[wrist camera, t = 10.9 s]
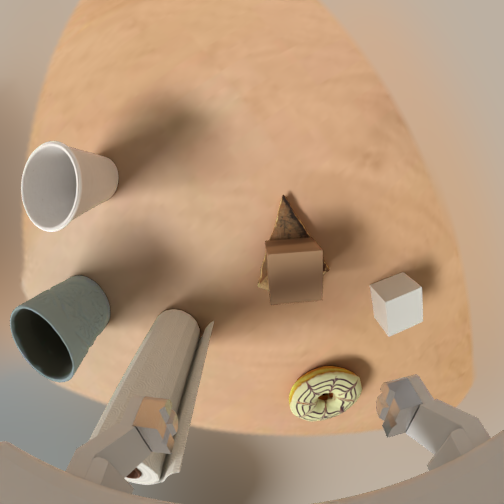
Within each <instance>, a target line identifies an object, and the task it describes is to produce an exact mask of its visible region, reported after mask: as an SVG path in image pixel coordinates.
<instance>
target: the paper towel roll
mask: <svg viewBox="0 0 504 504" xmlns="http://www.w3.org/2000/svg"><path fill="white" fill-rule="evenodd" d="M213 325H214V321H212V322H211V323H210V324H209V325H208V326H207V327H206V328H205V331H204V333H203V335H202V337H201V338H200V329H199V326H198V324H197V321H196V320H195V319H194V318H193V317H192V316H191V315H190V314H188V313H186V312H184V311H182V310H176V309H171V310H166V311H164V312H163V313H161V314H160V315H158V317H157V319H156V320H155V322H154V324H153V325H152V327H151V329H150V330H149V332H148V334H147V335H146V337H145V339H144V340H143V342H142V344H141V346H140V347H139V349H138V351H137V352H136V354H135V356H134V358H133V359H132V361H131V363H130V365H129V366H128V368H127V370H126V372H125V374H124V375H123V377H122V379H121V381H120V383H119V384H118V386H117V388H116V390H115V392H114V394H113V395H112V397H111V399H110V401H109V403H108V405H107V407H106V408H105V411H104V412H103V414H102V416H101V418H100V420H99V422H98V424H97V426H96V428H95V430H94V432H93V434H92V436H91V438H90V439H89V441H90V440H91V439H93V438H95V437H96V436H98V435H99V434H101V433H102V432H104V431H106V430H107V429H109V428H110V427H112V426H113V425H115V424H116V423H118V424H120V422H121V420H122V417H123V415H124V413H125V411H126V408H127V406H128V404H129V402H130V400H131V398H132V397H133V396H134V395H138V396H147V397H154V398H163V399H170V400H171V402H172V404H173V406H172V410H174V411H175V412H176V414H177V417H178V429H177V433H176V434H175V435H174V436H172V437H173V439H174V441H175V442H174V446H173V450H172V454H165V453H157V452H152V453H151V454H150V455H149V456H148V457H147V458H146V459H145V460H144V461H143V462H142V463H141V464H139V465H138V466H137V467H136V468H135V469H134V470H133V471H132V472H131V473H130V474H129V475H128V476H126V477H125V478H124V479H125V480H127V481H130V482H133V483H138V484H144V485H149V484H155V483H160V482H164V480H165V479H166V477H167V476H169V475H171V474H173V473H178V472H180V469H181V464H182V460H183V455H184V450H185V445H186V441H187V436H188V432H189V427H190V423H191V418H192V414H193V409H194V405H195V401H196V396H197V392H198V388H199V383H200V379H201V375H202V370H203V366H204V362H205V358H206V354H207V349H208V345H209V341H210V337H211V333H212V329H213ZM199 338H200V339H199Z"/></svg>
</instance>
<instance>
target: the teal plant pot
mask: <svg viewBox="0 0 504 504" xmlns="http://www.w3.org/2000/svg"><path fill="white" fill-rule="evenodd" d="M109 318H110V305H109V302H108V299H107V297H106V295H105V293H104V292H103V290H102V289H101V288H100V286H99V285H98V284H97V283H96V282H94V281H93V280H91V279H90V278H88V277H85V276H79V275H78V276H73V277H71V278H69V279H67V280H65V281H63V282H61V283H59V284H57V285H55V286H53V287H52V288H51V289H50V290H46V291H44V292H42V293H41V294H39V295H37V296H35V297H34V298H32V299H30V300H28V301H27V302H25V303H23V304H21V305H19V306H18V307H16V308H15V310H13V312H12V314H11V318H10V327H11V332H12V336H13V339H14V341H15V343H16V345H17V348H18V349H19V351H20V353H21V354H22V356H23V357H24V358H25V360H26V361H27V362H28V363H29V364H30V365H31V366H32V367H33V368H34V369H35V370H36V371H37V372H39V373H40V374H41V375H42V376H44V377H46V378H48V379H50V380H52V381H56V382H66V381H68V380H70V379H71V378H72V377H73V375H74V374H75V372H76V370H77V369H78V367H79V365H80V364H81V362H82V360H83V358H84V357H85V355H86V354H87V352H88V349H89V347H91V346H92V345H93V343H94V341H95V339H96V337H97V336H98V335H99V334H100V333H101V332H102V331H103V329H104V328H105V326H106V325H107V323H108V321H109Z"/></svg>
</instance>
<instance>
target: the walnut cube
mask: <svg viewBox="0 0 504 504" xmlns="http://www.w3.org/2000/svg"><path fill="white" fill-rule="evenodd" d="M265 245H266V259H267V273H268V287H269V295H270V303H271V305H277V304H289V303H299V302H310V301H319V300H322V296H323V250H322V249H321V248H320V246H319V245H318V244H317V243H316V242H315V241H314V239H313V238H312V237H309V238H295V239H282V240H269V241H265Z"/></svg>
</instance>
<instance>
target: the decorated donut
mask: <svg viewBox="0 0 504 504" xmlns="http://www.w3.org/2000/svg"><path fill="white" fill-rule="evenodd" d="M361 391H362V387H361V382H360V378H359V376H356V375H355V374H354V373H353V372H351V371H349V370H347V369H345V368H341V367H336V366H323V367H319V368H316V369H313V370H311V371H309V372H308V373H306V374H304V375H303V376H301V377H300V378H299V379H298V380H297V381H296V382H295V384H294V385H293V387H292V389H291V392H290V394H289V395H290V396H289V405H290V408H291V411H292V413H293V414H294V415H295V416H297V417H299V418H301V419H304V420H307V421H321V420H325V419H328V418H331V417H335V416H337V415H339V414H341V413H343V412H345V411H346V410H347V409H349V408H350V407H351V406H352V405H353V404H354V403H355V402H356V401H357V399H358V398H359V396H360V394H361ZM324 393H328V394H326V395H323V396H321V395H322V394H324Z"/></svg>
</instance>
